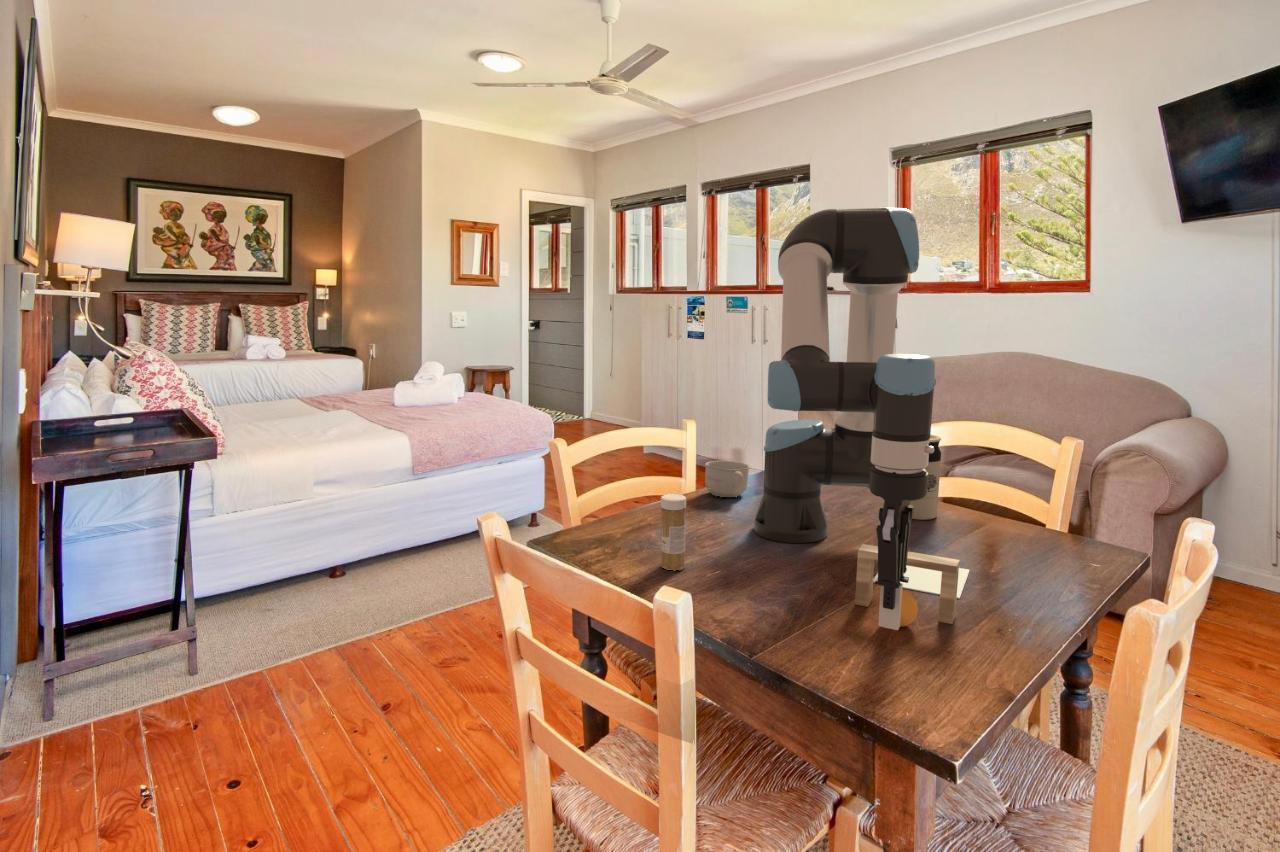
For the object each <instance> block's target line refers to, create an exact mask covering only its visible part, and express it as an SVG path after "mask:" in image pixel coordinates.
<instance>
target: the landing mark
mask: <svg viewBox="0 0 1280 852" xmlns="http://www.w3.org/2000/svg"><path fill="white" fill-rule="evenodd" d="M906 568H907V571H906V573H904V577H909V581H908V583H905V582H900V583H901V584H903V588H902V589H904V590H905V589H906V590H910V591H911V590H912V591H916V592H921V593H926V594H927V593H928V594H932V595H937V596H940V590H941V577H942V572H941V571H936V570H930V569H924V568H919V567H913V566H907V565H906ZM970 570H971V569H968V568H961V567H959V573H958V586H957V598H956V599H957V600H960V599H961V596H962V593H963V591H964V588H965V585H966V582H967V579H968V576H969V574H970V572H971V571H970ZM877 578H878V572H877V573H876V575H875V576H873V584H874V583H875V581H876V579H877Z"/></svg>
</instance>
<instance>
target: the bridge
mask: <svg viewBox="0 0 1280 852" xmlns="http://www.w3.org/2000/svg"><path fill="white" fill-rule="evenodd" d="M875 561H878V545H872V544H864V543H862V544H861V545H860V547H859V548H858V549H857V562H856V580H855V582H856V583H855V596H854V597H855V598H854V605H857V606H862V607H867V608H868V607H869V606H870V604H871V602H872V601H873V594H874V593H873V590H874V582H873V579H874V577H875V576H874V574H875ZM907 566H913V567H919V568H924V569H930V570H936V571H941V572H942V577H941V590H940V595H939V604H938V606H939V607H938V619H937V622H939V623H944V624H949V625H953V623H954V621H955V619H956V609H957V599H958V598H957V586H958V573H959V568H960V559H955V558H950V557H943V556H938V555H937V556H936V555H930V554H925V553H919V552H915V551H913V552H912V551H908V556H907Z"/></svg>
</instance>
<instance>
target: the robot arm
mask: <svg viewBox="0 0 1280 852" xmlns="http://www.w3.org/2000/svg"><path fill="white" fill-rule="evenodd" d="M919 241H920V237H919V231H918V225H917V220H916V217H915V215H914V213H913V212H912V211H911V210H910V209H907V208H905V207H904V208H903V207H888V206H884V207H867V208H839V209H836V208H831V209H830V208H829V209H828V208H827V209H823V210H818V211H816V212H814V213H813V214H810V215H808V216H807V217H805V218H804V219H802V220H801V221H800V222H799V223H798V224H796V225H795V226H794V228H793V229H792V230H791V231H790V232H789V233H788V234H787V236H786V237H785V239H784V240H783V242H782V244H781V246H780V248H779V249H780V250H779V253H778V257H777V258H778V259H777V270H778V274H779V276H780V278H781V279H782V308H781V309H782V313H781V314H782V315H781V318H782V319H781V346H780V347H781V349H780V350H781V351H780V353H781V354H780V360H773V361H771V362H770V363H769V364H768V369H767V372H768V373H767V404H768V406H769V407H770V408H771V409H772V410H782V411H791V412H802V411H803V412H840V413H841V412H842V413H841V414H840V415H838V416H837V417H836V418H835V420H834V427H833V428H832V427H825V424H824V422H823V421H822V420H819V419H810V418H809V419H806V418H805V419H793V420H788V421H787V420H785V421H782V422H779V423H778V422H777V423H775V424H773V425H771V426H769V427H768V429H767V430H766V432H765V439H764V446H763V452H764V469H763V494H762V498H761V500H760V503H759V505H758V508H757V512H756V514H755V517H754V521H753V522H754V523H753V525H754V526H753V531H754V533H756V535H758V536H759V537H762V538H764V539H768V540H771V541H775V542H781V543H790V544H803V543H804V544H806V543H813V542H819V541H821V540H824V539H825V538H827V537H828V534H829V522H828V518H827V514H826V511H825V508H824V504H823V501H822V486H837V487H838V486H839V487H840V486H841V487H842V486H844V487H861V488H868V489H869V491H870V493H871V494H872V495H873V496H874V497H879V498H882V499H883V501H884V503H883V505H882V507H879V510H878V520H879V523H880V524H878V525H877V527H876V528H875V529H876V530H875V531H876V536H877V546H878V560H877V573H878V578H877V579H876V581H875V585H878V586H880V590H879V591H880V593H879V602H880V607H879V606H878V608H879V609H878V610H879V611H878V627H880V628H881V627H882V628H885V629H889V630H894V631H898V630H899V629H900V628H901V627H900V618H901V603H902V590H903V589H904V588H903V584H901V583H900V582H905V583H908V581H909V577H904V573H906V571H907V568H906V565H907V556H908V552H909V546H910V545H909V544H910V537H911V536H910V535H911V529H912V528H911V525H912V520H913V519H912V517H913V511H914V508H913V506H911V505H910V501H914V500H919V499H922V498H924V497H925V496H926V494H927V481H928V472H927V471H926V470H925V469H924V468H926V467H927V466H928V460H929V453H933V452H934V447H933V446H928V444H929V443H930V435H931V429H932V419H933V418H932V417H933V408H934V407H933V406H934V396H935V395H934V393H935V386H936V384H937V383H936V382H937V380H936V375H935V373H936V372H935V371H936V366H935V365H936V363H935V360H934V358H933V357H931V356H929V355H922V354H918V353H917V354H916V353H894V349H895V338H896V335H895V334H896V323H897V322H896V321H897V312H898V311H897V308H898V298H899V297H898V296H899V292H900V290H901V289H903V288H904V287H905V286H906V285H908V278H909V274H913V273H916V272H917V271H918V269H919V261H920V242H919ZM830 274H842V284H843V285H844V286H845V287H846V289H848V290H849V292H850V293H849V295H850V296H849V297H850V298H849V312H848V313H849V314H848V317H849V318H848V329H847V347H846V361H831V359H830V333H829V332H830V329H829V328H830V327H829V307H828V306H829V303H828V302H829V301H828V297H829V296H828V277H829V276H830Z"/></svg>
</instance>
